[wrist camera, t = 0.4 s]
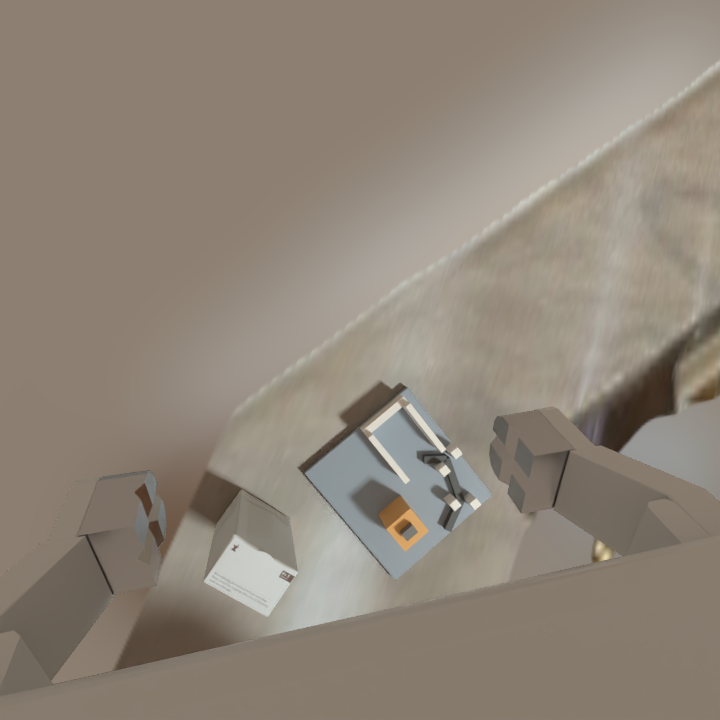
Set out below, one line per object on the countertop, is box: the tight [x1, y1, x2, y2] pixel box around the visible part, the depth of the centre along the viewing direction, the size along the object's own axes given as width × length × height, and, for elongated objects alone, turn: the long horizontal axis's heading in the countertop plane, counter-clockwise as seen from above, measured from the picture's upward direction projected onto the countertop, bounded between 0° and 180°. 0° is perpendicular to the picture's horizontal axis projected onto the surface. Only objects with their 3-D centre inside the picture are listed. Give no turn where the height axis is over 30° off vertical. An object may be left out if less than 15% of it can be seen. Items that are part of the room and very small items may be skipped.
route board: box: [304, 387, 492, 580], centre depth 63 cm, size 20×18×4 cm
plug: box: [378, 495, 429, 552], centre depth 62 cm, size 4×4×6 cm
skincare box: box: [203, 490, 298, 617], centre depth 55 cm, size 8×6×15 cm
